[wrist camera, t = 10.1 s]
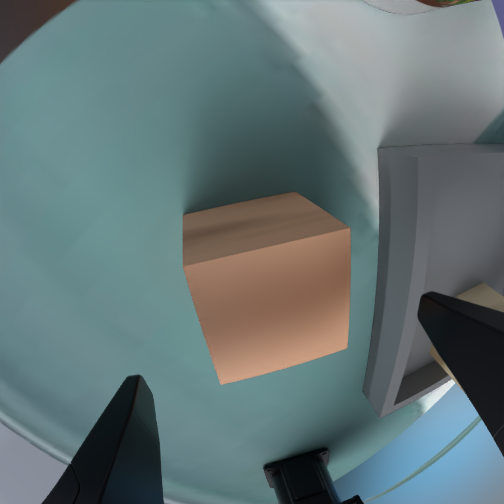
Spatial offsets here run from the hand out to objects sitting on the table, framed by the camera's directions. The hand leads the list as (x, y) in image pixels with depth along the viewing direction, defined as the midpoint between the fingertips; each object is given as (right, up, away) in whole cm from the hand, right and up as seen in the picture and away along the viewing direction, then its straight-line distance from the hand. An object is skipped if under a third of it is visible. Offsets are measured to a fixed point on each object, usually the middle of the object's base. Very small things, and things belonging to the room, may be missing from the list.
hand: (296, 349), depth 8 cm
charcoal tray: (+14, +2, +10) cm, 17 cm away
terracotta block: (-1, +3, +6) cm, 7 cm away
